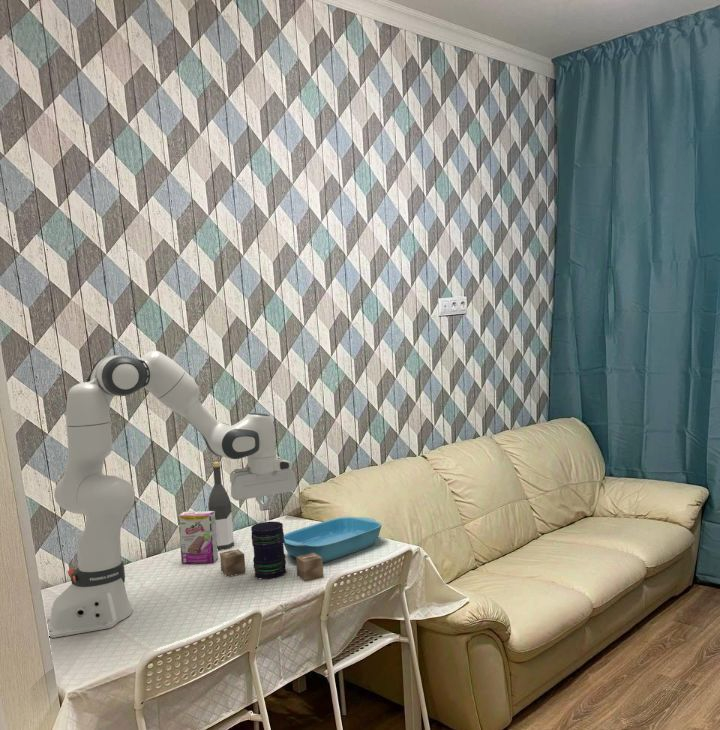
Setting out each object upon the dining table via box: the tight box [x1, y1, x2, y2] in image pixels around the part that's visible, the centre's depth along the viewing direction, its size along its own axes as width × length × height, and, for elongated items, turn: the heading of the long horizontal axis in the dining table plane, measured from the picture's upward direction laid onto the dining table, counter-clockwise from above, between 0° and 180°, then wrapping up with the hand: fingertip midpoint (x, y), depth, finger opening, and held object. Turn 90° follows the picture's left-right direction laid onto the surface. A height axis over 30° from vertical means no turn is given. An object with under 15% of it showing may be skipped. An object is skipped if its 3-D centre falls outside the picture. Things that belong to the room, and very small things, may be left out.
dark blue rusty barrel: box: [250, 521, 287, 580], centre depth 216 cm, size 10×10×15 cm
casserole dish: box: [283, 516, 382, 563], centre depth 236 cm, size 37×22×7 cm, turn 135°
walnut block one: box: [295, 553, 324, 583], centre depth 211 cm, size 6×6×6 cm
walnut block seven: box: [219, 548, 246, 577], centre depth 220 cm, size 6×6×6 cm
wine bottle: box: [207, 461, 235, 550], centre depth 246 cm, size 8×8×30 cm
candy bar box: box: [177, 510, 219, 565], centre depth 232 cm, size 11×5×16 cm, turn 84°
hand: (265, 510), depth 215 cm, fingers closed
